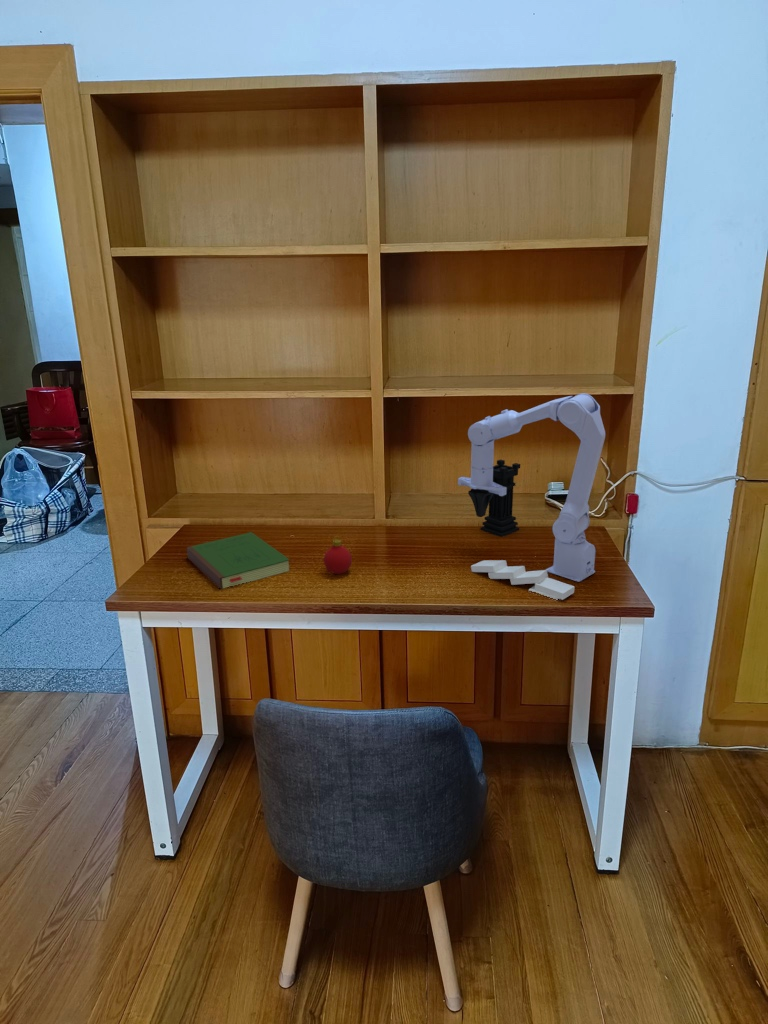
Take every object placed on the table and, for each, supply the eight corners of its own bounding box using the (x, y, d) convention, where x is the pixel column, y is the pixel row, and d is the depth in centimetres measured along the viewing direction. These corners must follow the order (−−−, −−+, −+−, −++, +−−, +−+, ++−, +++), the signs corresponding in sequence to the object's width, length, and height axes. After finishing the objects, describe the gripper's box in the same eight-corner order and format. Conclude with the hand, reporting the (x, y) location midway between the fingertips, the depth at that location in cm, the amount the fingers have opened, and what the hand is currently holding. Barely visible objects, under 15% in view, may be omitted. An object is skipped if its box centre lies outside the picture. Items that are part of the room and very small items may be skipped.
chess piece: (480, 529, 200) (482, 464, 194) (497, 523, 205) (500, 458, 199) (501, 537, 195) (504, 469, 188) (519, 529, 200) (522, 464, 193)
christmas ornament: (346, 565, 179) (344, 529, 175) (356, 575, 173) (355, 538, 169) (320, 570, 176) (318, 533, 173) (330, 580, 170) (328, 543, 167)
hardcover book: (188, 560, 185) (186, 547, 184) (252, 544, 195) (251, 532, 194) (222, 593, 166) (220, 579, 164) (291, 573, 175) (290, 560, 174)
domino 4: (539, 588, 165) (567, 597, 161) (528, 595, 162) (556, 604, 157) (539, 582, 165) (567, 590, 160) (528, 589, 161) (557, 598, 157)
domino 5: (546, 583, 164) (574, 592, 159) (534, 589, 161) (562, 599, 156) (546, 577, 164) (574, 586, 159) (535, 583, 160) (563, 593, 155)
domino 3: (519, 578, 169) (548, 576, 164) (511, 584, 165) (540, 582, 160) (518, 572, 168) (546, 569, 164) (509, 578, 164) (538, 576, 160)
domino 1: (484, 566, 176) (507, 566, 170) (471, 571, 173) (494, 572, 167) (483, 560, 176) (505, 560, 170) (470, 565, 173) (493, 566, 167)
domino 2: (501, 572, 172) (525, 572, 167) (489, 578, 169) (514, 578, 163) (499, 566, 172) (524, 566, 166) (488, 572, 169) (512, 572, 163)
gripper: (450, 464, 179) (450, 513, 184) (495, 475, 169) (493, 526, 174) (467, 459, 184) (466, 506, 188) (512, 469, 174) (510, 519, 178)
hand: (480, 515), depth 181 cm, fingers closed
